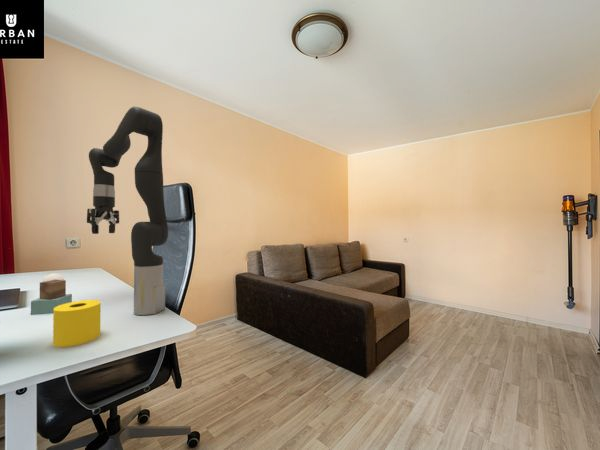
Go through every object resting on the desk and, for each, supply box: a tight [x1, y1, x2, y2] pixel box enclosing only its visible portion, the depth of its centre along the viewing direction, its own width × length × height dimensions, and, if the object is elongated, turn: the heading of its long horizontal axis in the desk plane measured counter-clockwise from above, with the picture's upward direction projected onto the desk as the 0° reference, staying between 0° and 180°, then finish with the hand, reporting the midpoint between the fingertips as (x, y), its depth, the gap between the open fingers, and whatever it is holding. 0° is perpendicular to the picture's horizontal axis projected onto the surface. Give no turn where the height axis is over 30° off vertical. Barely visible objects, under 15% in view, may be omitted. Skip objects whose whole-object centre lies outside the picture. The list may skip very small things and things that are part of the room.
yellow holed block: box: [52, 299, 102, 348], centre depth 72 cm, size 10×10×9 cm
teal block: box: [30, 293, 73, 316], centre depth 95 cm, size 8×8×5 cm
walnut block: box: [39, 279, 67, 300], centre depth 95 cm, size 5×5×6 cm
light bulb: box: [41, 272, 65, 282], centre depth 109 cm, size 7×7×11 cm
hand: (103, 233), depth 110 cm, fingers open, 8 cm apart
